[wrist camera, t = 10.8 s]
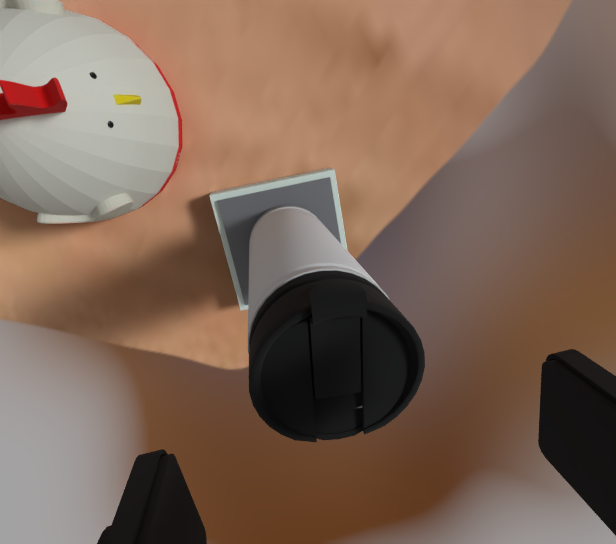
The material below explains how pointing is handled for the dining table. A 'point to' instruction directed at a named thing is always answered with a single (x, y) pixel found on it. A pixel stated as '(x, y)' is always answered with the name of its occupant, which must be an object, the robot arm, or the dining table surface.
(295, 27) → the dining table surface
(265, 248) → the travel mug
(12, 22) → the kitchen timer
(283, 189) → the stand
